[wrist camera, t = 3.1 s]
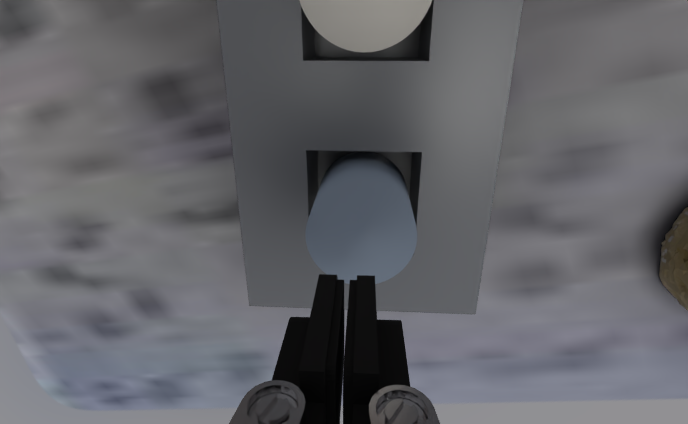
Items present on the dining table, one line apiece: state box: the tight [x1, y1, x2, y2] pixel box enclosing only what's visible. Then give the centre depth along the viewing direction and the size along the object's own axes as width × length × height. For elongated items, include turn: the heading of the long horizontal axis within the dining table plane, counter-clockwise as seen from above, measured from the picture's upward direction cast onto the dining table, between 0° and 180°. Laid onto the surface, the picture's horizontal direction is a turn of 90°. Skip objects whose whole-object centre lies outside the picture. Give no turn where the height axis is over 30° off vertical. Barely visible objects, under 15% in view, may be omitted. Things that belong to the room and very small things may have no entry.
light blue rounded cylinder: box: [305, 152, 417, 284], centre depth 18 cm, size 4×4×5 cm
